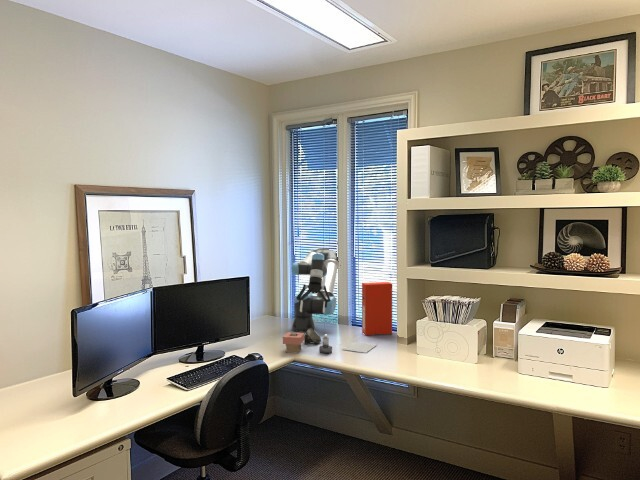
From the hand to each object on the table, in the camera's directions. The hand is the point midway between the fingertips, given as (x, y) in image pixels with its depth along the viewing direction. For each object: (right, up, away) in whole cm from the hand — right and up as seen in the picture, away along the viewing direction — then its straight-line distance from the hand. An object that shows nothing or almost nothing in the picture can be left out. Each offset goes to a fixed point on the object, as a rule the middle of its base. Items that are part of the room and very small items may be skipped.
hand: (312, 312), depth 279 cm
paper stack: (+30, -20, -13) cm, 38 cm away
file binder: (+41, -17, +24) cm, 50 cm away
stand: (-10, -20, -13) cm, 25 cm away
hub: (+8, -20, -16) cm, 26 cm away
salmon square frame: (-10, -15, -13) cm, 22 cm away
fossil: (0, -19, +3) cm, 19 cm away
